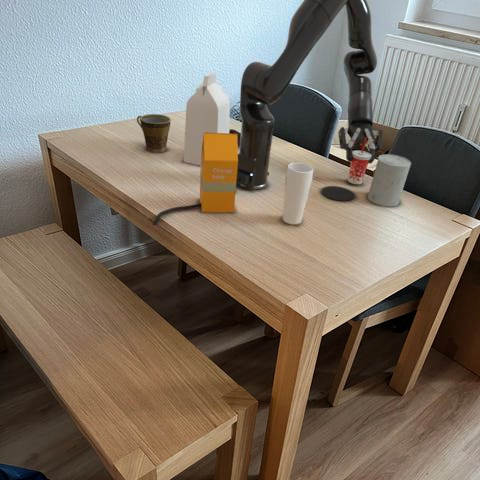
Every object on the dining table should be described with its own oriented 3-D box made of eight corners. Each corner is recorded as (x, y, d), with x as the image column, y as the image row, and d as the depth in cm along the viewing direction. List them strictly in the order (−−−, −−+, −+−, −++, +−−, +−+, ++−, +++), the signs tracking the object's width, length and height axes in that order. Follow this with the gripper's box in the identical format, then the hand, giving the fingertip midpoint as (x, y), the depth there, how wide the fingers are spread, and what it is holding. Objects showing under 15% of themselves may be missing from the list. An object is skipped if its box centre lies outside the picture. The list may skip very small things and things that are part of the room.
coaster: (345, 204, 141) (345, 203, 141) (315, 193, 145) (316, 192, 145) (359, 194, 148) (359, 193, 147) (331, 184, 152) (331, 183, 152)
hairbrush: (233, 122, 183) (272, 141, 167) (233, 132, 185) (271, 151, 169) (215, 125, 179) (252, 143, 163) (215, 135, 182) (252, 154, 165)
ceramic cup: (176, 149, 164) (176, 119, 158) (157, 156, 157) (157, 125, 151) (148, 139, 169) (146, 110, 163) (128, 146, 162) (126, 116, 156)
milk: (216, 168, 154) (221, 81, 137) (183, 161, 156) (184, 74, 140) (228, 157, 163) (234, 73, 146) (197, 150, 165) (200, 67, 149)
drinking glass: (306, 218, 132) (316, 165, 122) (300, 229, 127) (310, 174, 117) (283, 213, 133) (291, 160, 124) (276, 223, 128) (284, 169, 119)
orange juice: (233, 212, 131) (240, 139, 118) (201, 212, 129) (204, 137, 117) (229, 199, 137) (235, 128, 124) (199, 199, 135) (201, 127, 122)
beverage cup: (365, 186, 152) (377, 142, 143) (346, 184, 152) (357, 139, 143) (362, 178, 157) (373, 135, 148) (344, 176, 156) (354, 133, 148)
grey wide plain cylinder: (363, 192, 149) (374, 153, 142) (392, 193, 150) (404, 155, 143) (372, 205, 142) (384, 165, 134) (403, 207, 143) (416, 167, 135)
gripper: (342, 102, 147) (342, 155, 145) (386, 106, 148) (387, 158, 146) (334, 115, 154) (334, 165, 152) (377, 118, 156) (377, 168, 154)
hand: (360, 161), depth 149 cm, fingers closed on beverage cup, 6 cm apart
